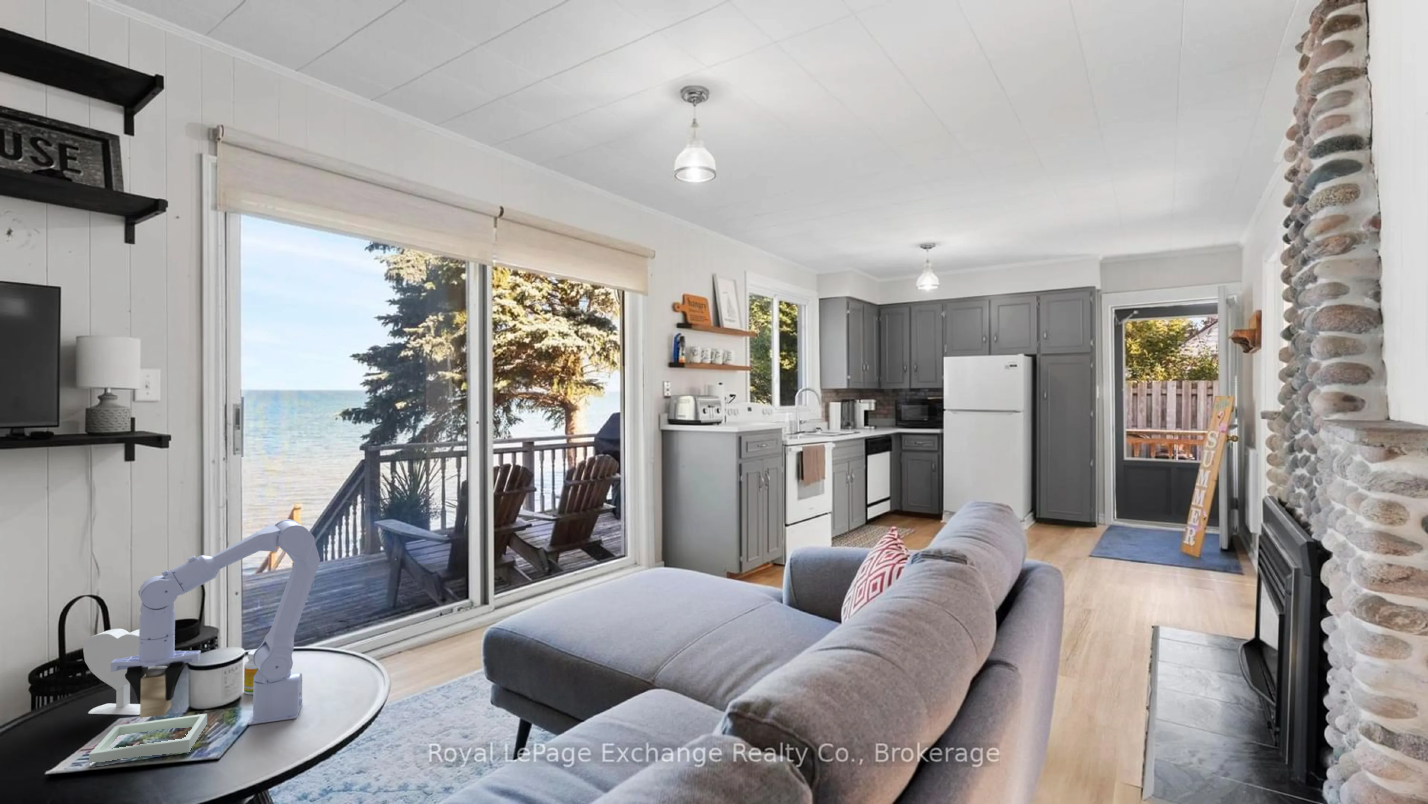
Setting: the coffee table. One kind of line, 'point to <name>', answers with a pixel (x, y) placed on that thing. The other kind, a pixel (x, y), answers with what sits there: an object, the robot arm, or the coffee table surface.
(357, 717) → the coffee table surface
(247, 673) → the supplement bottle
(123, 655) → the heart sculpture
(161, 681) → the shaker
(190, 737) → the tray
